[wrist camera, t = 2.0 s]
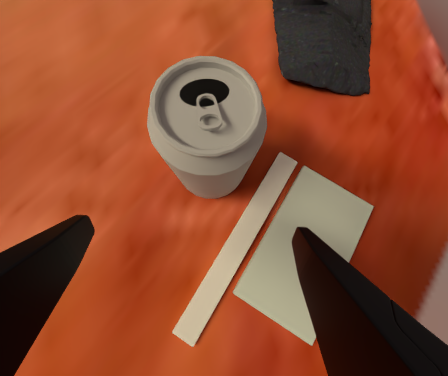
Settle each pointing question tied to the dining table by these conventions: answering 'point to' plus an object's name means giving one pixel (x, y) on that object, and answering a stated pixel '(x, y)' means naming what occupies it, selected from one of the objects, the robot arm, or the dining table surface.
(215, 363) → the dining table surface
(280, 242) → the pad
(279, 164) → the strip
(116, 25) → the dining table surface
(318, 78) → the dark slate chunk
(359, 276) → the robot arm
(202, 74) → the can
